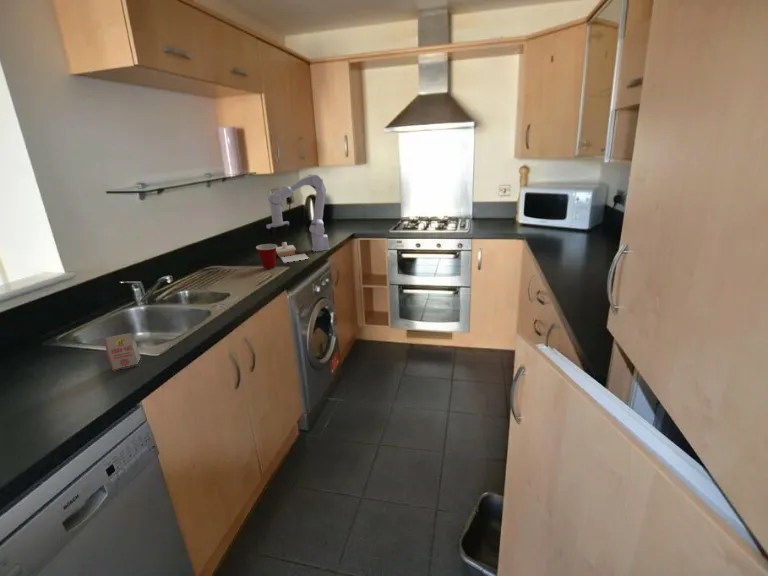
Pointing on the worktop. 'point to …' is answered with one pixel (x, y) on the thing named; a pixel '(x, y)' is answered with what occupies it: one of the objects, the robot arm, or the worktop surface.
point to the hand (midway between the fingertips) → (279, 239)
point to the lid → (285, 248)
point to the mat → (294, 258)
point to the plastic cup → (267, 255)
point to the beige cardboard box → (122, 350)
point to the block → (286, 253)
